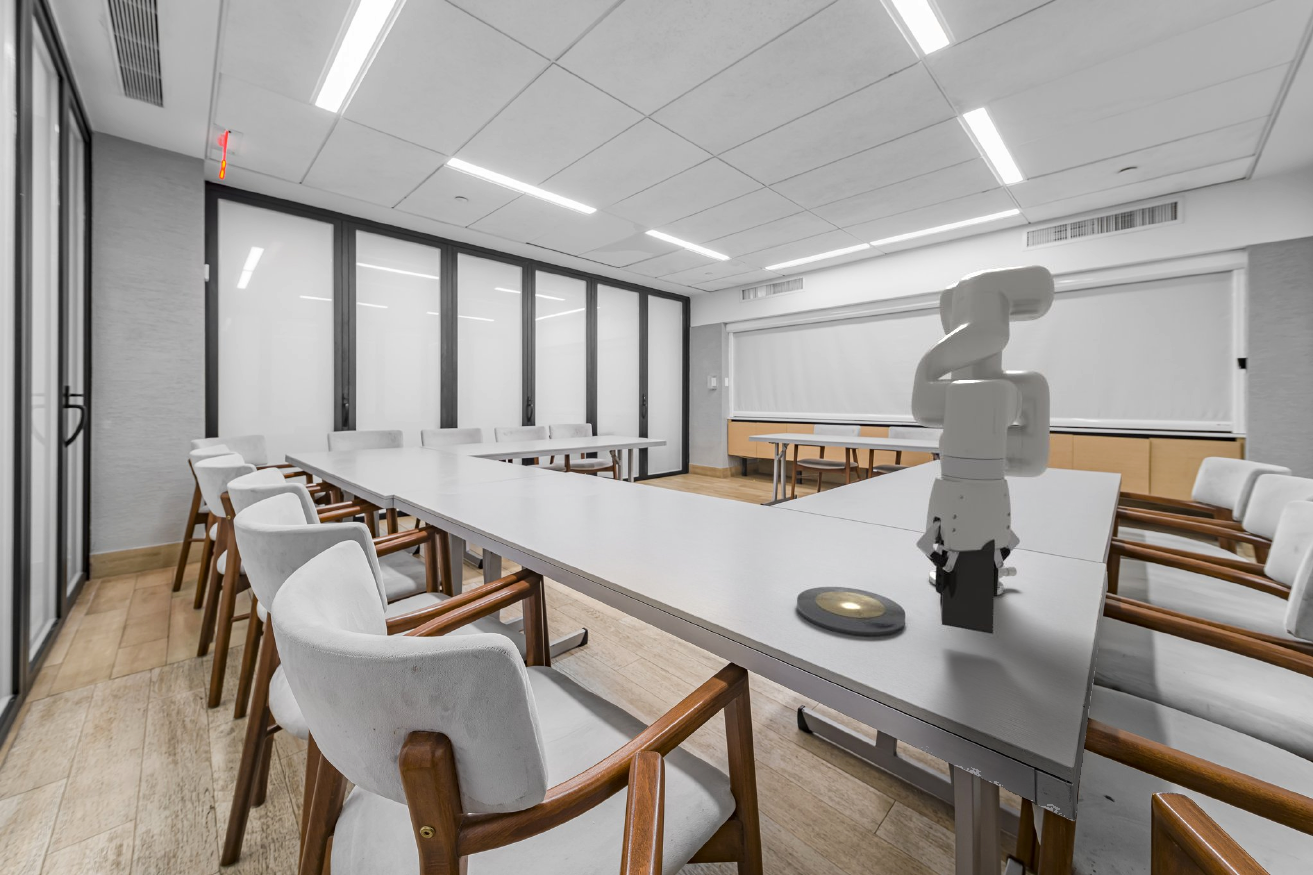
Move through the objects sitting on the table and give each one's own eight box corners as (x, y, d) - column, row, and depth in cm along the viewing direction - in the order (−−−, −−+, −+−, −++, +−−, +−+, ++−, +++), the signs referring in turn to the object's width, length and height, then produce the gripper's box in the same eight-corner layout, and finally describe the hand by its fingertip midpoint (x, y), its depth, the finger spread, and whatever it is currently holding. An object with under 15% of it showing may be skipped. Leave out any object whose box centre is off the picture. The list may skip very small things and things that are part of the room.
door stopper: (939, 601, 78) (943, 525, 77) (986, 609, 75) (990, 530, 74) (941, 625, 70) (945, 540, 69) (993, 635, 67) (998, 546, 66)
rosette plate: (867, 592, 95) (868, 583, 95) (928, 633, 79) (929, 622, 78) (781, 596, 93) (781, 587, 93) (825, 639, 76) (825, 628, 76)
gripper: (1005, 463, 76) (998, 580, 77) (898, 466, 73) (894, 587, 75) (1051, 471, 68) (1042, 600, 70) (934, 475, 66) (928, 609, 68)
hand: (965, 592), depth 72 cm, fingers closed on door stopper, 5 cm apart
